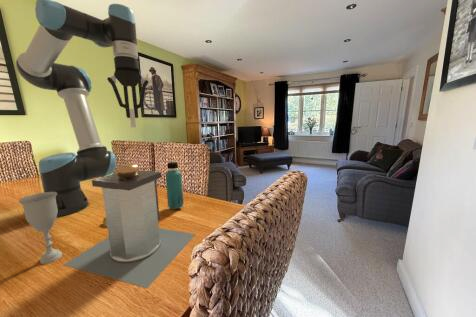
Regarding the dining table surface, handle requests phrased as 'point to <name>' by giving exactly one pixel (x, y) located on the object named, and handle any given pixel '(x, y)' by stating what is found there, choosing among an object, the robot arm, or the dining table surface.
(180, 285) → the dining table surface
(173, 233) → the slate mat
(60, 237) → the dining table surface
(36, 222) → the chalice
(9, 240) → the dining table surface
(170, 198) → the beverage bottle
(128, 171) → the plunger
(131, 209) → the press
